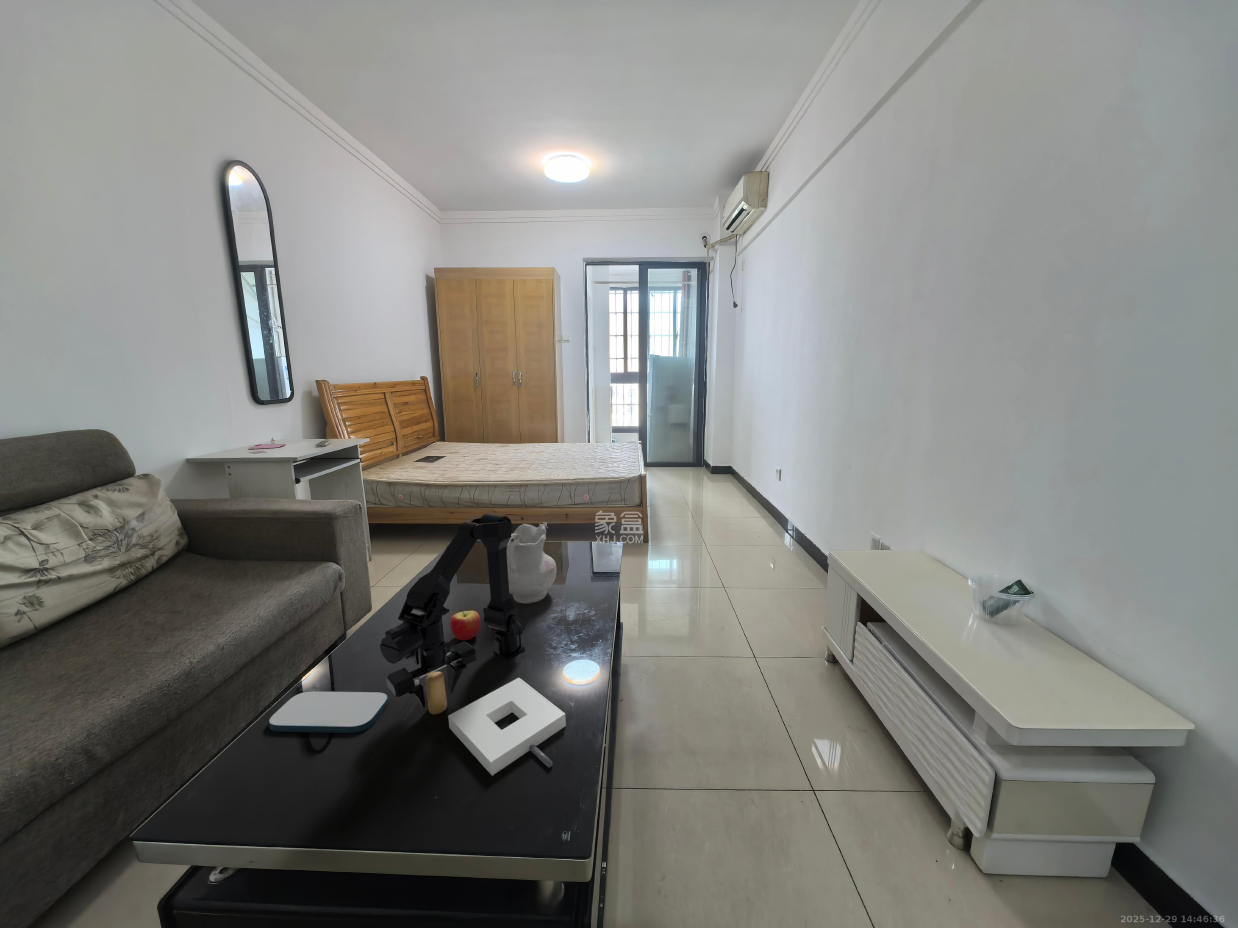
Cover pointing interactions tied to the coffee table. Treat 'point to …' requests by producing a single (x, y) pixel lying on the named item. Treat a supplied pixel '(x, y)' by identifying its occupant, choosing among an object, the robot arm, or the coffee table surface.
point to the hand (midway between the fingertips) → (437, 699)
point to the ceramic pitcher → (529, 564)
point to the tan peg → (436, 692)
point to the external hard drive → (329, 712)
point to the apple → (465, 624)
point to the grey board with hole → (517, 738)
